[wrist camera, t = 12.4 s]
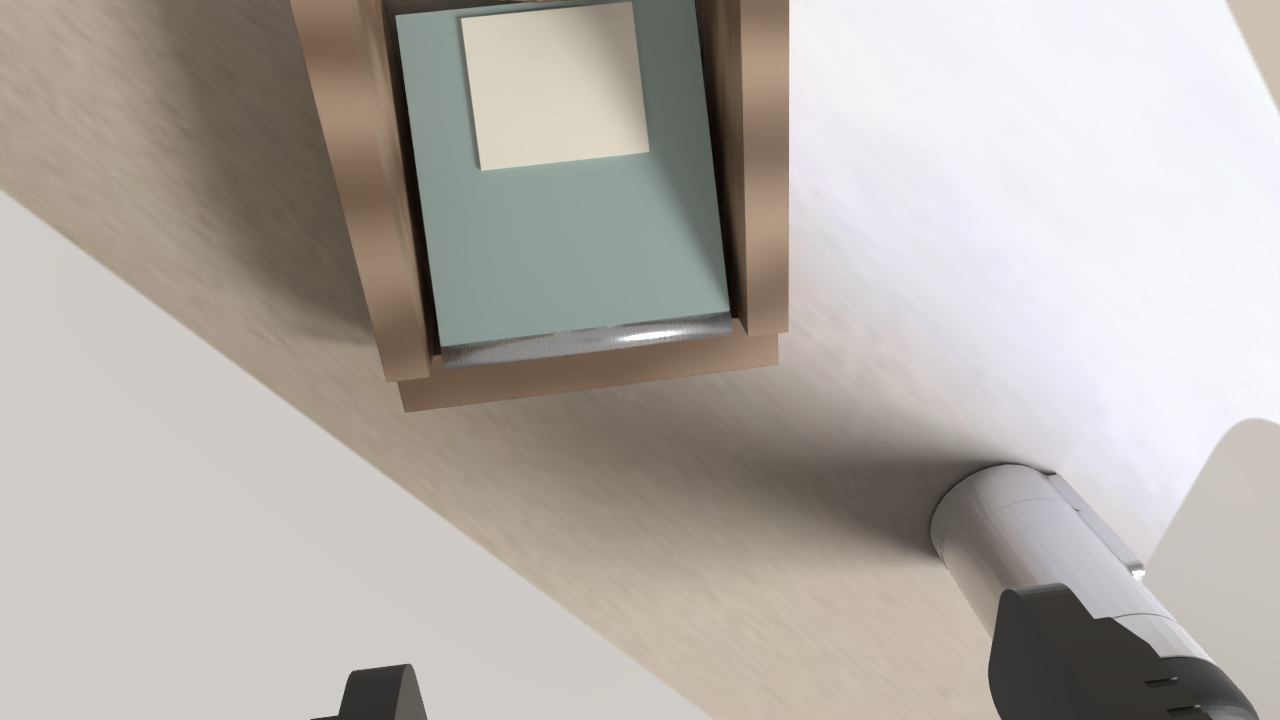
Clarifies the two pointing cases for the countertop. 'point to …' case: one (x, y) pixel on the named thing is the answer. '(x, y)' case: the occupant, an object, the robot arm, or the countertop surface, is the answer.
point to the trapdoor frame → (395, 234)
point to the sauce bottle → (542, 0)
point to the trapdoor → (564, 177)
